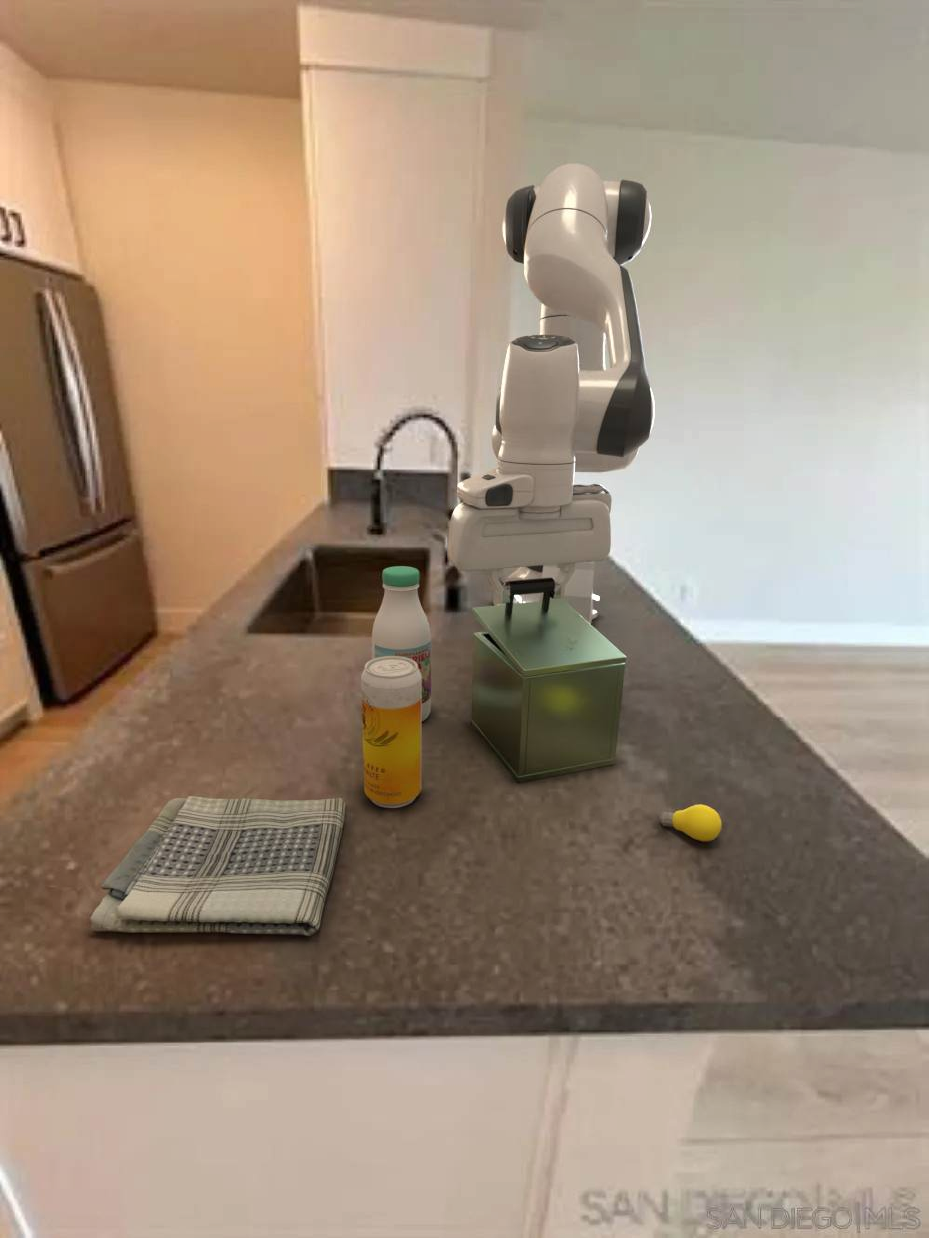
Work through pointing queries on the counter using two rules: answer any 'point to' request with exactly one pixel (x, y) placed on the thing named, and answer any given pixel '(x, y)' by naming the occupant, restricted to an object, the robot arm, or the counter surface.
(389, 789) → the beer can
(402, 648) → the milk bottle
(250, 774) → the counter surface
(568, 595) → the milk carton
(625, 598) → the counter surface
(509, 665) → the olive green box
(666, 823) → the light bulb
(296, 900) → the dish towel
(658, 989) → the counter surface
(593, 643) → the green panel
